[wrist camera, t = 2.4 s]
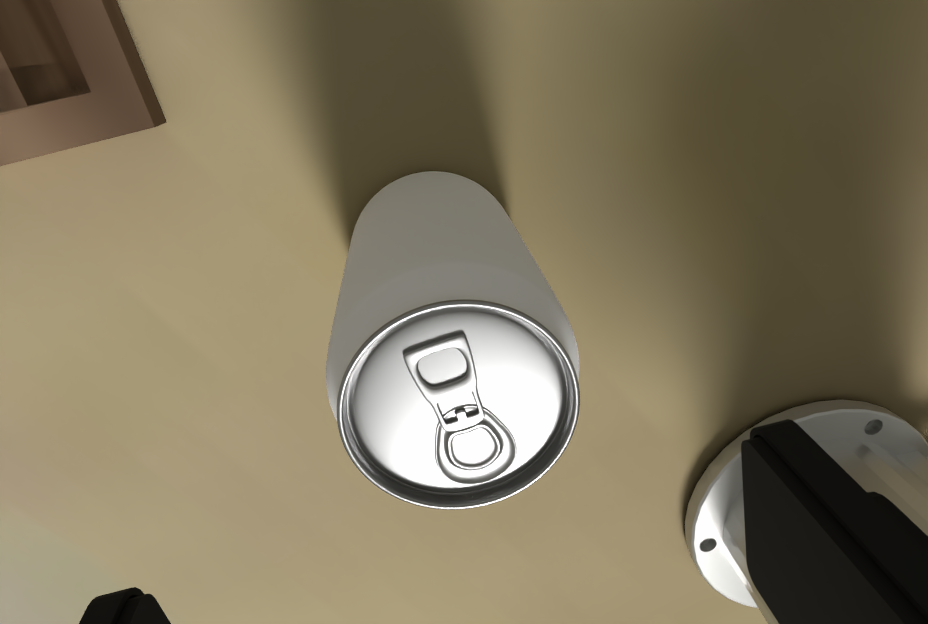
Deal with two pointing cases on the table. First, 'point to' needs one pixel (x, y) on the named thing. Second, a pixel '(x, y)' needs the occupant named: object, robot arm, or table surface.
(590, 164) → the table surface
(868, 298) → the table surface
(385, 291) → the can
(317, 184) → the table surface
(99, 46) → the holder
